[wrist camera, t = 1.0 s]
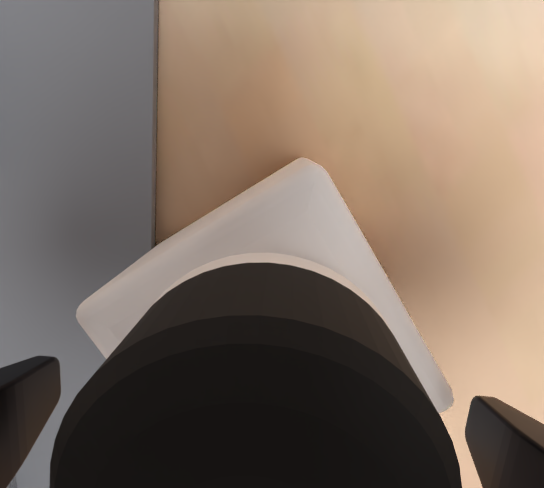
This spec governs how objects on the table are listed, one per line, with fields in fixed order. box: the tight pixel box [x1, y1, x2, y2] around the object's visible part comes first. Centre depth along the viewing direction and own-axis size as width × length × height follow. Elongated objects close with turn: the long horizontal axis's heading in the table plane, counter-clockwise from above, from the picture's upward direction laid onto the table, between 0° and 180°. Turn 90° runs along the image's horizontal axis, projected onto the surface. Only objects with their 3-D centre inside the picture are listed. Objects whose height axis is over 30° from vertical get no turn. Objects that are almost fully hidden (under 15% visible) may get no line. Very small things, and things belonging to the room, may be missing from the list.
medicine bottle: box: [49, 157, 462, 488], centre depth 11 cm, size 7×7×12 cm
